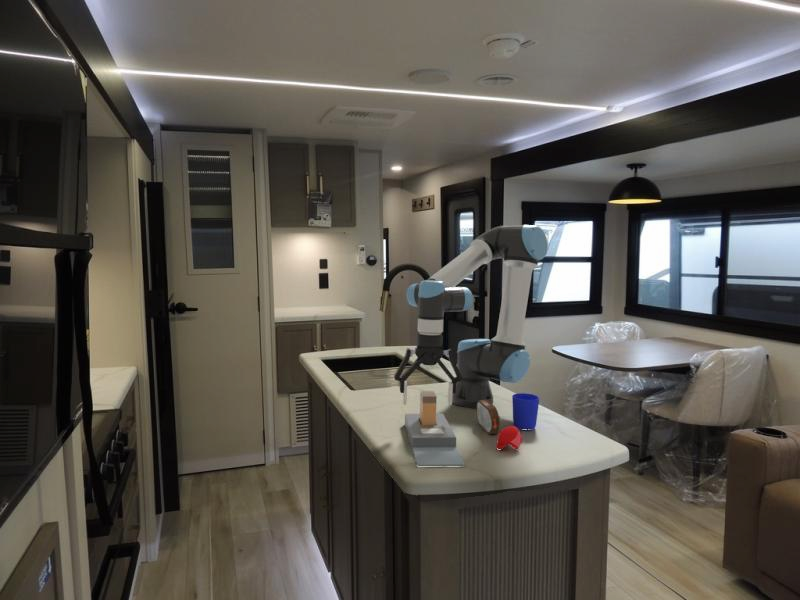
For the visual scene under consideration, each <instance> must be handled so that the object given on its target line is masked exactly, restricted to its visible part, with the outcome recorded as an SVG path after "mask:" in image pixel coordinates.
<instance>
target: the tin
mask: <svg viewBox="0 0 800 600" xmlns="http://www.w3.org/2000/svg"><path fill="white" fill-rule="evenodd" d="M476 417H477V421H478V424H479V425H480V427H481V428H482V429H483V430H484V431H485V432H486V433H487V434H488V435H497V434H498V435H499V431H500V430H501V429H500V428H501V421H500V416H499V412H498V409H497V407H496V406H495V405H494V403H493V404H491V403H490V402H489V401H488V400H487V399H486V400H479V401H478V402H477V408H476Z"/></svg>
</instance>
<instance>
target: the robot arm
mask: <svg viewBox="0 0 800 600" xmlns="http://www.w3.org/2000/svg"><path fill="white" fill-rule="evenodd" d="M548 243H549V242H548V238H547V236H546V233H545V231H544V230H543V229H542V228H541V227H540V226H539V225H535V224H533V225H531V224H530V225H529V224H521V225H500V226H496V227H492V228H491V229H488V230H487V231H485V232H483V233H482V234H481V235H479V236H478V237H476V238H474V239H473V240H472V241H471V242H470V244H469V247H468V248H466V249H465V250H464V251H463V252H461V253H460V254H459V255H458V256H456V257H454V259H452V260H451V261H449V262H448V263H447V264H446V265H444V266H443V267H442V268H441V269H439V270H438V271H437V272H435V273H434V274H433V275H431V276H430V277H429V278H428V279H426V280H422V281H420V283H413V284H411V285H409V287H408V288H407V289H406V299H407V303H408V304H409V305H410V306H412V307H416V308H417V312H418V313H417V314H418V315H417V331H418V333H417V334H416V335H417V336H416V337H417V338H416V349H410V348H408V347H407V348H406V349H405V353H404V357H403V359H402V361H401V362H400V364H399V366H398V368H397V370H396V372H395V373H394V375H393V377H394V380H395V381H398V382H399V392H400V394H402V404H403V406H407V399H408V397H407V396H408V395H407V393H408V382H407V380H408V378H409V377H410V376H411V375H412V374H413V373H414V372H415V371H416V370H417V368H418V367H419V366H421V364H422V365H425V366H426V365H427V366H428V365H430V366H431V365H432V366H435V365H437V364H438V366H439V367H440V368H441V369H442V370H443V371H444V373H445V375H446V376H447V377H448V378H449V379H450V381H448V388H447V389H448V392H447V403H448V405H449V406H453V404H454V405H456V406H460V407H463V408H464V407H465V408H472V409H473V408H474V409H477V402H478V401H479V400H486V399H487V400H488V401H489V402H490V403H491V404H493V405H494V395H493V391H492V388H491V385H490V379H492V380H496V381H501V382H503V383H509V384H517V383H519V382H521V381H522V380H523V379H524V378H525V377H526V375H527V373H528V372H529V370H530V365H531V357H530V354H529V352H528V351H526V343H525V342H524V341H523V333H524V328H525V320H526V312H527V307H528V299H529V296H530V295H529V294H530V287H531V281H532V275H533V270H535V269H537V267H538V264H539V261H541V260H543V259H544V258H545V257H546V255H547V253H548V247H549V246H548V245H549V244H548ZM497 259H498V260H499V259H503V263H504V265H505V266H506V271H505V278H504V283H503V293H502V297H501V298H502V299H501V304H500V305H501V306H500V309H499V311H500V312H499V318H498V322H497V331H496V335H495V336H494V337H492V338H491V339H489V338H470V339H464V340H461V341H459V342H458V345H457V352H456V355H457V356H456V357H457V358H456V360H455V359H454V351H453V350H452V349H451V348H448V349H445V350H444V349H443V339H444V338H443V337H444V336H443V334H442V333H443V332H444V314H445V313H450V312H452V313H453V312H456V313H457V312H459V313H460V312H465V311H467V310H469V309H470V308H471V307H472V305H473V301H474V296H473V293H472V290H470V289H469V288H468V287H466V286H457V285H459V284H460V283H461V282H463V281H464V280H465V279H466V278H468V277H469V276H470V275H471V274H472V273H474V272H475V271H476V270H477V269H478V268H480V267H481V266H482V265H488V264H489V263H490V262H492V261H493V260H497ZM414 355H415V356H416V359H415V360H414V362H413V363H412V364H411V365H410V366H409V367H408V368H407V370H406V371H405V372H404V373H403V371H404V370H405V368H406V366H407V365H408V362H409V361H410V358H411V357H413V356H414ZM443 356H445V358H448V361H449V363H450V365H451V367H452V370H453V372H454V373H455V376H454V375H453V373H451V371H450V370H449V369H448V368H447V366H446V365H445V364H444V363H443V362H442V360H441V358H442V357H443Z"/></svg>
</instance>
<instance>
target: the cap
mask: <svg viewBox="0 0 800 600" xmlns="http://www.w3.org/2000/svg"><path fill="white" fill-rule="evenodd" d="M522 442H523V436H522V433H520V429H518V428H516V427H515V426H514V425H509V426H506V427H504V428H503V429H501V430H499V433H498V435H497V442H496V447H497V448H498V449H501V450H500V451H502V450H503V449H504V448H505V447H506V446H508V445H509V446H510V447H512V449H514V450H515V449H518V450H519V449H520V446H521V444H522ZM507 444H508V445H507ZM496 447H495V448H496ZM497 448H496V449H497Z"/></svg>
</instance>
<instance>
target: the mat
mask: <svg viewBox="0 0 800 600" xmlns="http://www.w3.org/2000/svg"><path fill="white" fill-rule="evenodd" d="M413 453H414V454H413ZM412 454H413V457H414V456H415V457H414V460H415V459H416V460H415V463H416V462H417V464H416V466H417V465H418V466H465V467H466V464H465V462H464V459H463V458H462V456H461V454H460V452H459V450H458V448H457V446H456V447H413V450H412Z"/></svg>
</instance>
